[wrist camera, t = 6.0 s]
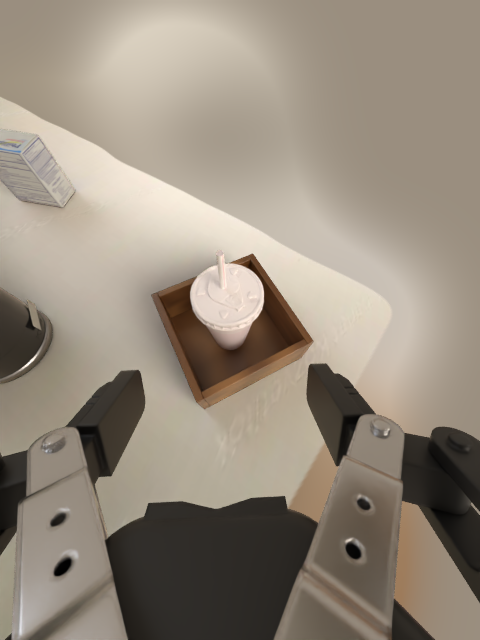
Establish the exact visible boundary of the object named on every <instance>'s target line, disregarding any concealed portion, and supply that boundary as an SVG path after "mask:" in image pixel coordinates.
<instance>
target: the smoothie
mask: <svg viewBox="0 0 480 640" xmlns="http://www.w3.org/2000/svg"><path fill="white" fill-rule="evenodd" d="M216 257H217V265H214V266H212V267H209V268H207V269H206V270H204V271H203V272H201V273H200V274H199V275H198V276H197V278H196V279H195V281H194V282H193V284H192V287H191V291H190V299H191V304H192V308H193V311H194V313H195V315H196V316H197V318H198V319H199V320H200V321H201V322H202V323H203V324H205V325H206V326H207V328H208V329H209V331H210V333H211V334H212V336H213V337H214V339H215V341H216V342H217V344H218V345H219V346H220V347H221V348H223V349H226V350H234V349H237V348H239V347H240V346H241V345H242V344H243V343H244V341H245V339H246V336H247V334H248V332H249V329H250V327H251V325H252V322H253V321H254V320H255V319H256V318H257V317H258V316H259V314H260V312H261V311H262V308H263V304H264V289H263V285H262V283H261V281H260V279H259V278H258V276H257V275H256V274H255V273H254V272H252V271H251V270H250V269H248V268H246V267H244V266H241V265H238V264H232V263H225V260H224V252H223V251H222V250H218V251H217V252H216Z"/></svg>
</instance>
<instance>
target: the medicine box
mask: <svg viewBox="0 0 480 640" xmlns="http://www.w3.org/2000/svg"><path fill="white" fill-rule="evenodd" d="M0 180H1V181H2V182H3V183H4V184H5V185H6V186H7V187H8V189H9V190H10V191H11V192H12V193H13V194H14V195H15V196H16V197H17V198H18V199H19V200H22V201H28V202H34V203H39V204H45V205H51V206H57V207H62V208H63V207H64V206H65V204H66V203H67V202H68V200H69V199H70V198H71V196H72V195H73V193H74V192H75V191H76V190H75V188H74V187H73V185H72V184H71V182H70V181H69V180H68V178H67V177H66V175H65V174H64V172H63V171H62V169H61V168H60V166H59V165H58V163H57V162H56V160H55V159H54V157H53V156H52V154H51V153H50V151H49V150H48V148H47V147H46V145H45V144H44V142H43V141H42V139H41V138H40V137H39V135H37V134H31V133H25V132H19V131H12V130H6V129H0Z"/></svg>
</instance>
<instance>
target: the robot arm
mask: <svg viewBox="0 0 480 640" xmlns="http://www.w3.org/2000/svg"><path fill="white" fill-rule="evenodd" d="M27 302H28V305H27V304H25V303H24V302H22V301H21V300H19V299H18V298H16V297H15V296H13V295H11V294H10V293H8V292H7V291H5V290H4V289H2V288H0V384H1V383H6V382H9V381H12V380H14V379H16V378H18V377H20V376H22V375H24V374H25V373H27V372H28V371H30V370H31V369H32V368H33V367H34V366H36V365H37V364H38V362H39V361H40V360H41V359H42V358H43V356H44V355H45V353H46V352H47V350H48V348H49V346H50V343H51V340H52V326H51V323H50V321H49V319H48V318H47V317H46V316H45V315H44V314H43V313H41V312H40V311H38V310H37V309H36V307H35V304H33V303H32V302H30V301H29V300H27ZM307 401H308V405H309V407H310V410H311V412H312V414H313V416H314V418H315V421H316V423H317V425H318V427H319V429H320V432H321V434H322V436H323V438H324V440H325V443H326V445H327V447H328V449H329V451H330V454H331V456H332V458H333V460H334V462H335V465H336V466H339V468H338V471H337V474H336V477H335V480H334V482H333V485H332V488H331V491H330V493H329V496H328V499H327V502H326V505H325V507H324V510H323V513H322V516H321V518H320V521H319V523H317V522H316V521H314V520H312V519H311V518H310V517H308V516H306V515H304V514H302V513H299V512H297V511H294V510H291V509H287V504H286V499H285V496H280V497H260V498H250V499H247V500H244V501H241V502H238V503H235V504H232V505H229V506H226V507H223V508H219V509H212V508H208V507H204V506H200V505H195V504H191V503H187V502H183V501H181V502H161V503H148V506H147V509H146V513H145V516H144V517H142V518H139V519H137V520H134V521H132V522H130V523H129V524H127V525H125V526H123V527H122V528H120V529H119V530H117V531H116V532H115V533H113V534H112V535H111V536H110V537H108V533H107V529H106V526H105V522H104V518H103V514H102V510H101V506H100V503H99V499H98V495H97V491H96V488H95V483H96V481H97V479H98V477H105V476H112V474H113V472H114V470H115V468H116V466H117V464H118V462H119V460H120V458H121V456H122V454H123V452H124V450H125V448H126V446H127V444H128V442H129V440H130V438H131V436H132V434H133V432H134V430H135V428H136V426H137V424H138V422H139V420H140V418H141V416H142V414H143V412H144V408H145V395H144V389H143V384H142V378H141V373H140V371H139V370H127V371H121V372H120V373H119V374H118V375H117V376H116V377H115V379H114V380H113V381H112V382H108V383H106V384H105V385H103V386H102V387H100V388H99V389H98V390H97V391H96V392H95V393H94V395H93V396H92V398H90V399H89V400H88V401H87V403H86V405H84V406H83V407H82V408H81V410H80V411H79V412H78V413H77V414H76V415H75V416H74V418H73V419H72V420H71V421H70V422H69V423H68V425H67V426H66V427H63V428H59V429H56V430H53V431H50V432H48V433H46V434H45V435H43V436H41V437H40V438H39V439H37V440H36V441H35V442H34V443H33V444H32V445H31V446H30V448H29V449H28V450H27V451H23V452H19V453H15V454H12V455H8V456H4V457H2V455H1V453H0V555H1V554H2V552H3V551H4V549H5V548H6V546H7V545H8V543H9V542H10V540H11V539H12V537H13V536H14V534H15V533H16V531H17V536H16V557H15V577H14V597H13V618H12V633H11V634H10V635H9V636H8V637H7V638H6V639H5V640H435V639H434V638H433V637H432V636H431V635H430V634H429V633H428V632H427V631H426V630H425V629H424V628H423V627H422V626H421V625H420V624H419V623H418V622H417V621H416V620H415V619H414V618H413V617H412V616H411V615H410V614H409V613H408V612H407V611H406V610H405V609H404V608H403V607H402V606H401V605H400V604H399V603H398V602H397V601H396V600H395V599H394V590H395V578H396V565H397V554H398V553H397V552H398V540H399V529H400V516H401V505H402V501H405V502H409V503H412V504H416V505H418V506H419V507H420V509H421V511H422V512H423V513H424V515H425V517H426V519H427V520H428V522H429V523H430V525H431V526H432V528H433V530H434V531H435V533H436V534H437V536H438V538H439V539H440V540H441V542H442V544H443V545H444V547H445V549H446V550H447V552H448V553H449V555H450V556H451V558H452V559H453V561H454V563H455V564H456V566H457V567H458V569H459V571H460V572H461V574H462V575H463V577H464V579H465V580H466V582H467V583H468V585H469V586H470V588H471V590H472V591H473V593H474V594H475V596H476V598H477V599H478V601H479V602H480V515H479V514H478V513H477V512H476V510H475V509H474V508H473V507H472V506H471V502H472V503H473V504H474V505H475V507H476V508H477V509H478V510H479V511H480V441H479V440H477V439H476V438H474V437H473V436H471V435H469V434H467V433H465V432H463V431H460V430H457V429H454V428H450V427H437V428H435V429H434V430H433V431H432V433H431V436H430V438H428V437H423V436H418V435H412V434H407V433H404V432H403V430H402V429H401V428H400V426H399V425H398V424H396V423H395V422H394V421H392V420H390V419H388V418H386V417H384V416H380V415H376V414H375V413H374V411H373V410H372V409H371V408H370V406H369V405H368V404H367V402H366V401H365V400H364V399H363V398H362V396H361V395H360V394H359V393H358V391H357V390H356V389H355V388H354V386H353V385H352V384H351V383H350V381H349V380H348V379H346V378H345V377H343V376H342V375H340V374H334V373H333V372H332V370H331V369H330V368H329V366H328V365H327V364H310V365H309V368H308V380H307Z"/></svg>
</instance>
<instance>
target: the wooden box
mask: <svg viewBox="0 0 480 640" xmlns="http://www.w3.org/2000/svg"><path fill="white" fill-rule="evenodd" d="M231 263H232V264H238V265H241V266H244V267H246V268H248V269H250V270H251V271H252V272H254V273H255V274H256V275H257V276H258V278H259V279H260V281H261V283H262V285H263V289H264V304H263V308H262V311H261V312H260V314H259V316H258V317H257V318H256V319H255V320H254V321H253V322H252V325H251V327H250V329H249V332H248V334H247V336H246V339H245V341H244V343H243V344H242V345H241V346H240V347H239V348H237V349H234V350H226V349H223V348H221V347H220V346H219V345H218V344H217V342H216V341H215V339H214V337H213V336H212V334H211V333H210V331H209V329H208V328H207V326H206V325H205V324H203V323H202V322H201V321H200V320H199V319H198V318H197V316H196V315H195V313H194V311H193V308H192V304H191V299H190V291H191V287H192V284H193V282H194V281H195V279H196V278H197V276H196V277H194V278H191V279H189V280H186V281H184V282H182V283H179V284H177V285H174V286H172V287H169V288H167V289H164V290H162V291H159V292H158V293H154V294H152V295H151V296H152V298H153V301H154V303H155V305H156V308H157V310H158V312H159V315H160V317H161V320H162V322H163V324H164V327H165V329H166V331H167V334H168V336H169V338H170V341H171V343H172V346H173V348H174V350H175V353H176V355H177V357H178V360H179V362H180V364H181V367H182V369H183V371H184V374H185V376H186V379H187V381H188V383H189V386H190V388H191V390H192V393H193V395H194V397H195V400H196V402H197V403H198V404H199V405H200V406H201V407H203V408H204V409H206V408H208V407H210V406H212V405H214V404H215V403H217V402H219V401H221V400H223V399H225V398H227V397H229V396H230V395H232V394H234V393H236V392H238V391H240V390H242V389H244V388H245V387H247V386H249V385H251V384H253V383H255V382H257V381H259V380H260V379H262V378H264V377H266V376H268V375H270V374H272V373H274V372H275V371H277V370H279V369H281V368H283V367H285V366H287V365H289V364H290V363H292V362H294V361H296V360H298V359H300V358H301V357H302V356H303V355H304V353H305V352H306V351H307V350H308V348H309V347H310V346H311V344H312V343H313V342H314V341H313V340H312V338H311V337H310V335H309V334H308V332H307V331H306V329H305V328H304V327H303V325H302V324H301V322H300V321H299V319H298V318H297V316H296V315H295V314H294V312H293V311H292V309H291V308H290V306H289V305H288V304H287V302H286V301H285V299H284V298H283V296H282V295H281V293H280V292H279V291H278V289H277V288H276V286H275V285H274V283H273V282H272V280H271V279H270V278H269V276H268V275H267V273H266V272H265V270H264V269H263V267H262V266H261V265H260V263H259V262H258V260H257V259H256V257H255V256H254V255H253V254H250V255H248V256H246V257H243V258H241V259H238V260H236V261H233V262H231Z"/></svg>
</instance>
